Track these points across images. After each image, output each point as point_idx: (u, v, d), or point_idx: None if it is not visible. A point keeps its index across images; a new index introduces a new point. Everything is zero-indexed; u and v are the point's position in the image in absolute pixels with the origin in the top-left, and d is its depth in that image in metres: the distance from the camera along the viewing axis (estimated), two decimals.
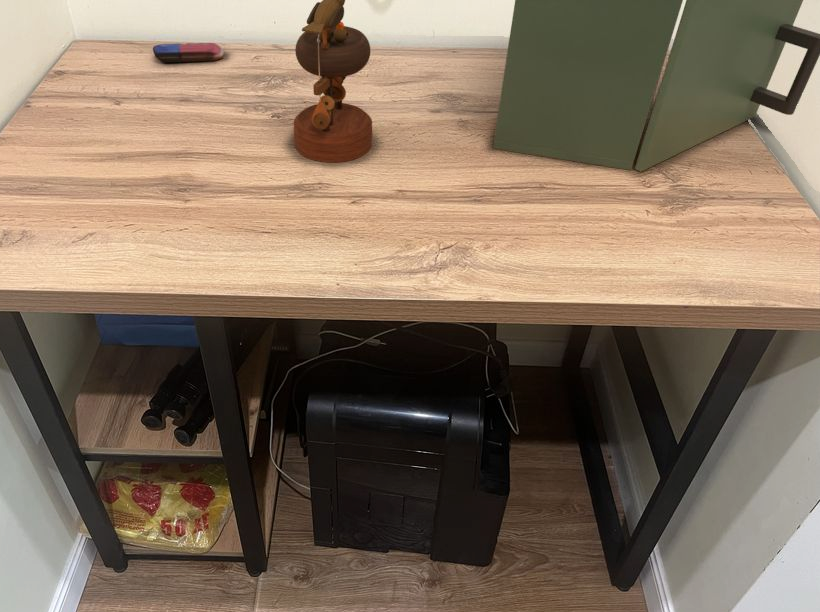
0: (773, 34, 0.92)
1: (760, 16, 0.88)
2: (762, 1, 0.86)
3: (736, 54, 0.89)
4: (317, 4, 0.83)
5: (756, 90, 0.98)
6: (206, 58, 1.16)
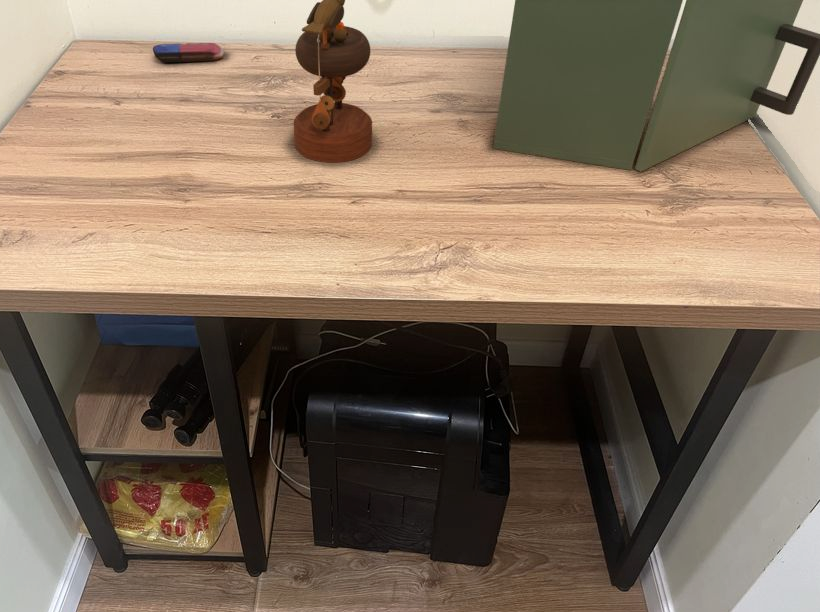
0: (773, 34, 0.92)
1: (760, 16, 0.88)
2: (762, 1, 0.86)
3: (736, 54, 0.89)
4: (317, 4, 0.83)
5: (756, 90, 0.98)
6: (206, 58, 1.16)
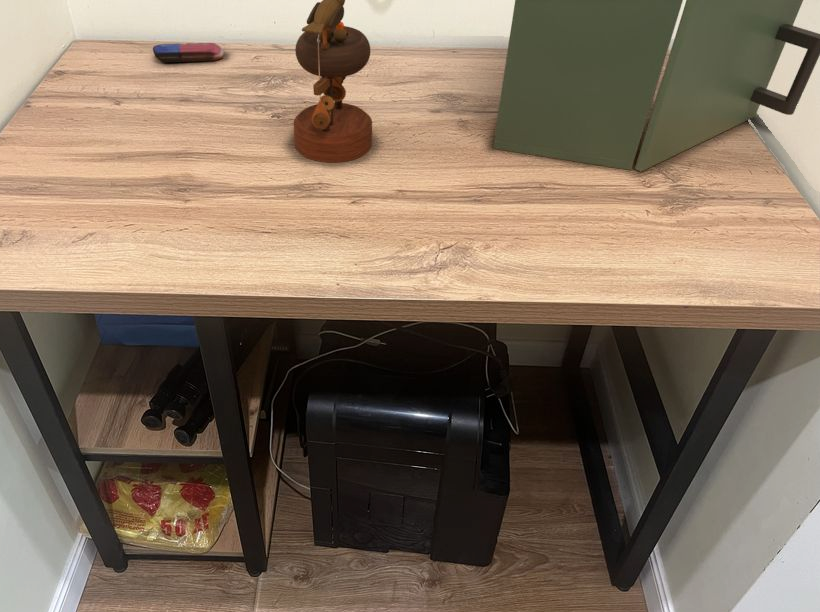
0: (773, 34, 0.92)
1: (760, 16, 0.88)
2: (762, 1, 0.86)
3: (736, 54, 0.89)
4: (317, 4, 0.83)
5: (756, 90, 0.98)
6: (206, 58, 1.16)
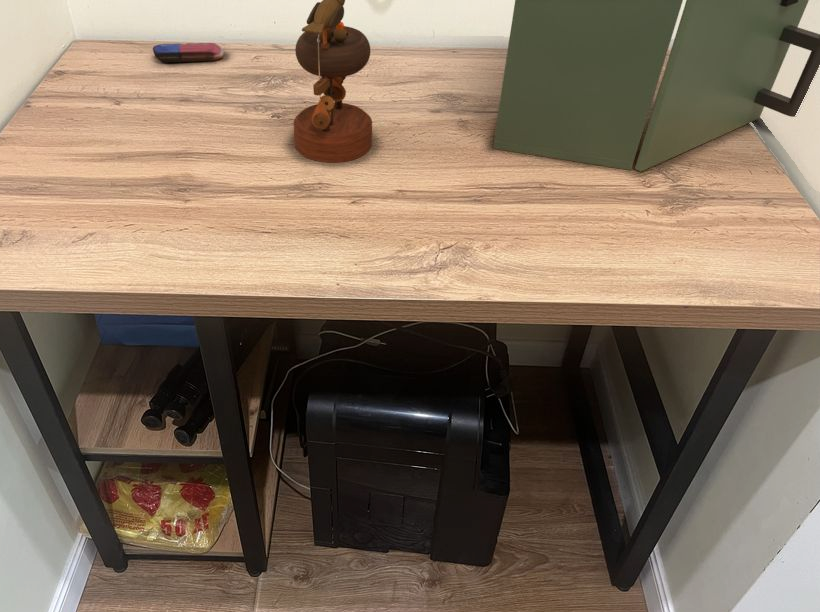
0: (777, 35, 0.92)
1: (763, 17, 0.87)
2: (765, 2, 0.86)
3: (738, 55, 0.89)
4: (317, 4, 0.83)
5: (760, 91, 0.97)
6: (206, 58, 1.16)
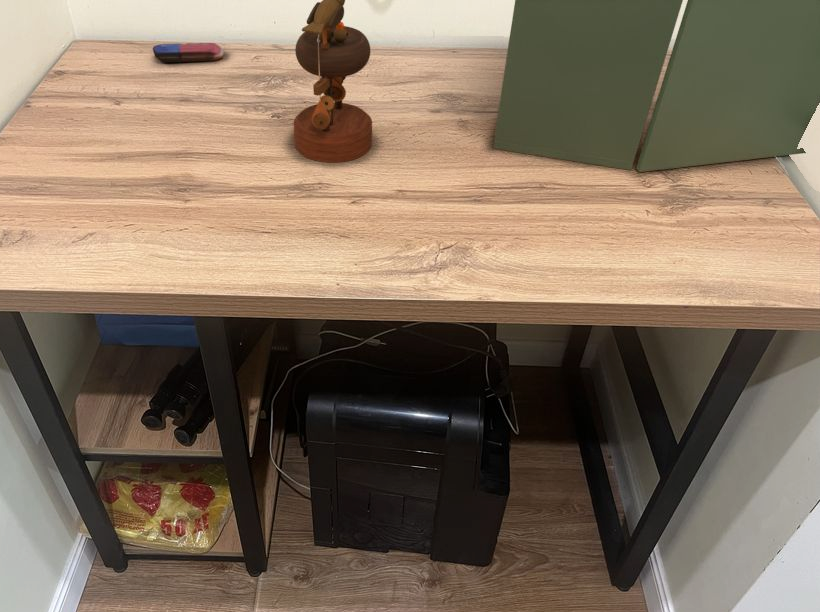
0: None
1: (805, 35, 0.83)
2: (805, 19, 0.82)
3: (772, 72, 0.85)
4: (317, 4, 0.83)
5: None
6: (206, 58, 1.16)
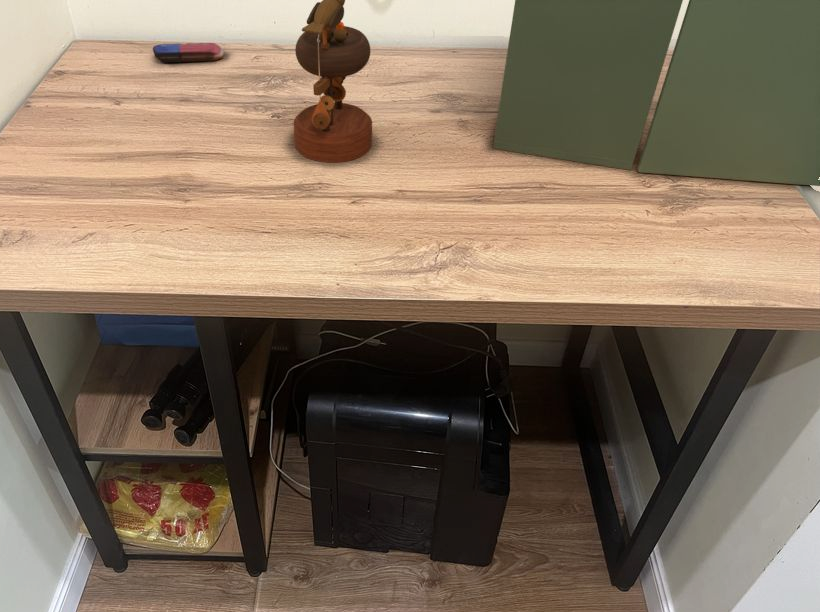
0: None
1: None
2: None
3: (791, 90, 0.82)
4: (317, 4, 0.83)
5: None
6: (206, 58, 1.16)
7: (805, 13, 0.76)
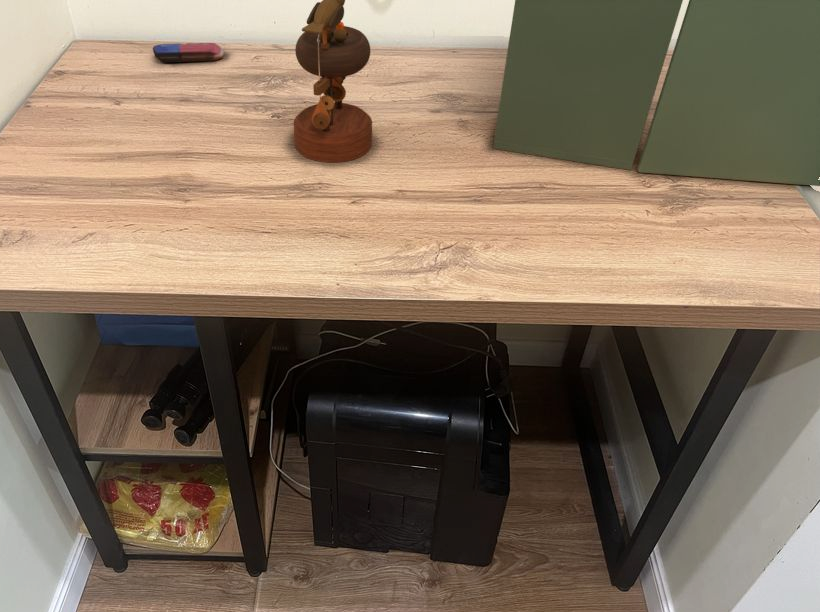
0: None
1: None
2: None
3: (791, 90, 0.82)
4: (317, 4, 0.83)
5: None
6: (206, 58, 1.16)
7: (805, 13, 0.76)
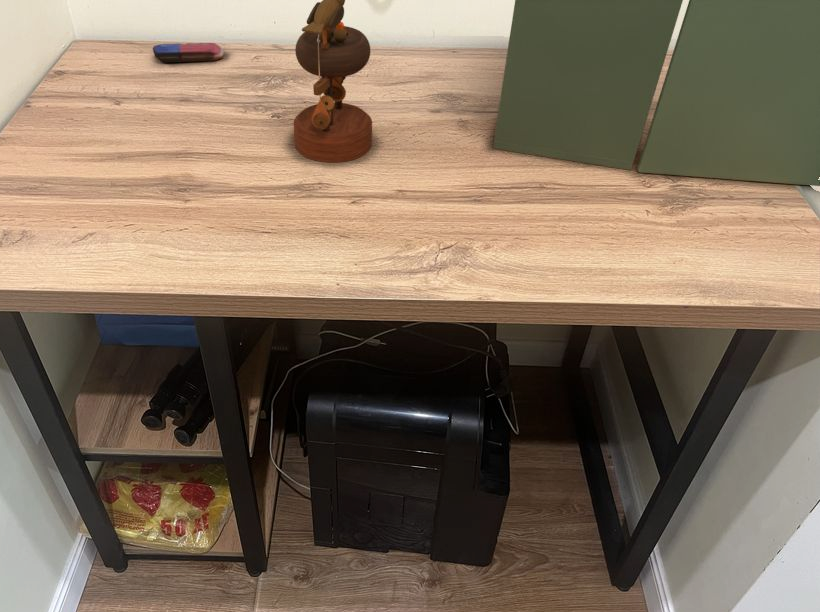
0: None
1: None
2: None
3: (791, 90, 0.82)
4: (317, 4, 0.83)
5: None
6: (206, 58, 1.16)
7: (805, 13, 0.76)
